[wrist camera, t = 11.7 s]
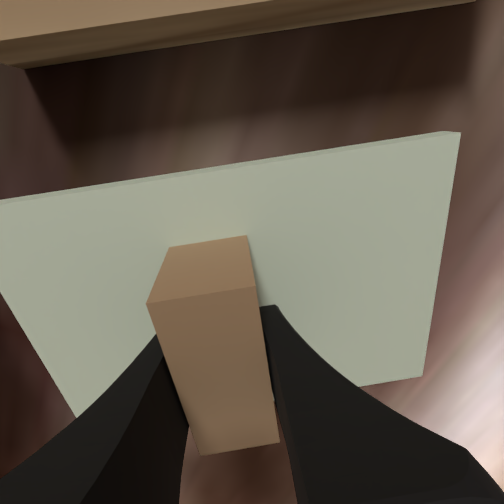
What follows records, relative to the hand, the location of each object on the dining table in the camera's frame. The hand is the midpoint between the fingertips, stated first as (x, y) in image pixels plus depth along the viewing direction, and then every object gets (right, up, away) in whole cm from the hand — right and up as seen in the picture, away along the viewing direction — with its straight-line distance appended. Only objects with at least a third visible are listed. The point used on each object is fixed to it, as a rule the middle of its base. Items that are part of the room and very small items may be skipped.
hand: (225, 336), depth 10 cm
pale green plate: (0, +1, +1) cm, 2 cm away
